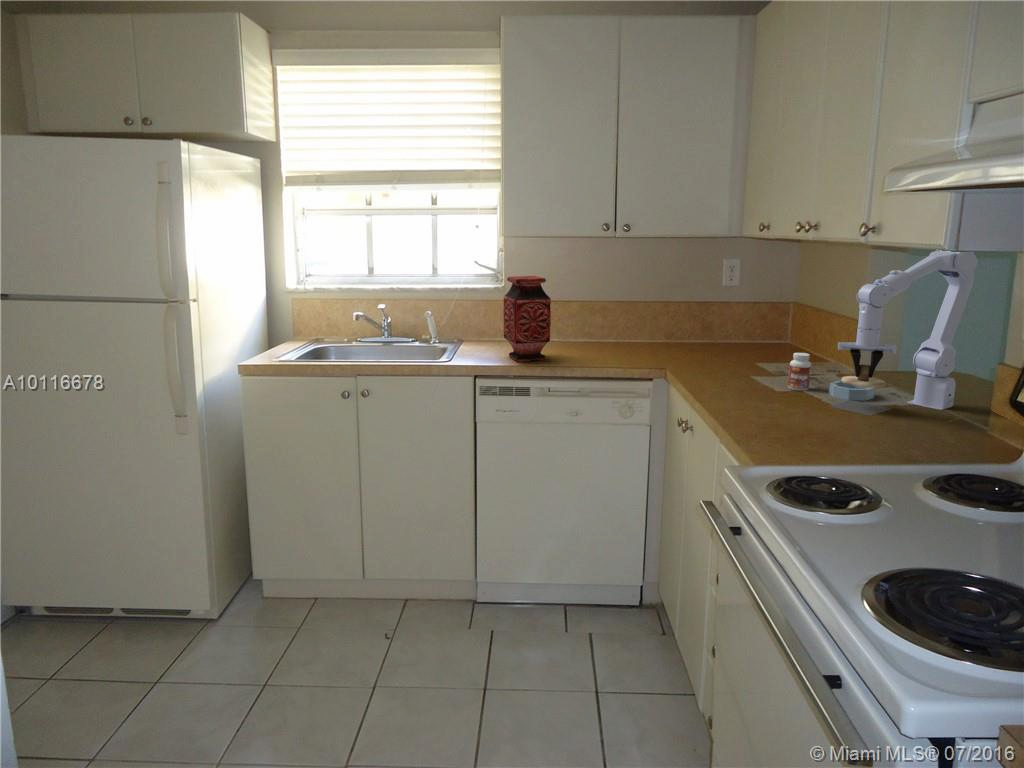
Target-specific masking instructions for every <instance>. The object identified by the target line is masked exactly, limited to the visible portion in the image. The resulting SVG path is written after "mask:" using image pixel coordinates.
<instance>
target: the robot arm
mask: <svg viewBox="0 0 1024 768" xmlns="http://www.w3.org/2000/svg"><path fill="white" fill-rule="evenodd" d="M978 263H979V260H978V258H977V256H976V254H975V253H974V252H973V251H972V252H951V251H942V250H938V249H936V250H935V251H932V252H930V253H929V255H928V256H926V257H925V258H923V259H921V260H920V261H918V262H916V263H915V264H914V265H912V266H910V267H908V268H906V269H905V270H904V271H902V270H899V269H898V270H897V269H896V270H891V271H889V274H887V275H886V276H884V277H882V278H877V279H875V280H874V282H873V283H865V284H864V285H862V286H861V287H860V289H859V290H858V293H856V295H855V297H856V301H857V302H858V309H859V311H858V312H859V313H858V323H857V330H856V332H857V333H856V340H855V342H851V341H849V342H848V341H847V342H845V341H843V342H842V341H838V344H837V350H838V351H849V352H850V353H849V354H850V355H851V359H852V362H853V365H854V376H856V377H859V365H861V363H860V362H861V357H862V356H861V355H862V354H861V353H862V352H871V353H870V354H871V355H870V366H871V367H870V374H869V378H873V375H874V372H876V371H875V370H876V368H877V366H878V364H879V363H880V361H881V360H882V358H883V356H884V353H891V354H897V349H898V347H897V345H895V344H885V343H880V337H881V330H882V329H881V328H882V322H883V321H882V320H883V311H884V306H886V305H888V303H889V301H890V299H892V298H893V297H896V296H897V295H898V294H900V293H902V292H904V291H906V290H908V289H909V287H910V286H911V282H914V281H916V280H918V279H920V278H922V277H925V276H927V275H929V274H931V273H933V272H935V271H937V273H939V274H940V275H941V276H942V277H943V278H944V279H945V280H946V282H947V284H948V288H947V290H946V292H945V296H944V298H943V300H942V304H941V307H940V310H939V312H938V315H937V317H936V319H935V323H934V326H933V328H932V331H931V334H930V335H929V336H930V337H929V338H928V339H926V340H925V341H923V342H922V343H921V344H920V346H919V348H918V350H917V351H916V352H915V353H914V355H913V358H912V364H913V367H914V368H915V369H916V370H915V372H916V373H917V375H916V382H915V388H914V389H915V390H914V395H913V399H912V400H909V401H907V403H906V404H910V405H915V406H920V407H925V408H930V409H934V410H935V409H936V410H939V411H940V410H941V411H942V410H945V409H949V408H953V407H954V406H953V405H954V399H955V392H956V387H957V386H956V380H955V378H953V377H949V375H950V374H952V372H953V371H954V369H955V365H956V359H955V358H956V356H957V350H956V349H955V347H954V346H953V345H952V342H953V340H954V337H955V334H956V332H957V329H958V326H959V324H960V321H961V318H962V316H963V313H964V309H965V307H966V306H967V305H966V304H967V302H968V299H969V296H970V294H971V291H972V289H973V285H974V282H975V271H976V268H977V267H978ZM952 406H953V407H952Z"/></svg>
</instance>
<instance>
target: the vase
mask: <svg viewBox="0 0 1024 768" xmlns="http://www.w3.org/2000/svg"><path fill="white" fill-rule="evenodd" d="M506 280H507V281H508V282H509V283H511V286H510V288H509V290H508V291H507V292H506V294H504V295H503V338H504V339H505V340H507V343H509V345H511V348H512V351H511V352H509V353H508V357H510V358H511V359H512V360H514V361H515V360H516V361H515V362H517V363H518V362H519V363H521V362H522V363H524V362H523V361H526V362H533V361H532V360H534V361H544V359H545V360H546V356H545V355H544V354H543V353H542V350H543V349H544V347H545V346H546V345H547V344H548V343H549V342H551V325H552V324H551V302H552V299H551V297H550V296H549V295H548V294H547V293H546V291H545V290H544V289H543V286H542V284H543V283H546V281H547V279H546V278H545V277H541V276H536V275H523V276H522V275H521V276H518V275H517V276H512V275H511V276H508V277H507V278H506Z"/></svg>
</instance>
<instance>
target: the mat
mask: <svg viewBox="0 0 1024 768" xmlns="http://www.w3.org/2000/svg"><path fill="white" fill-rule="evenodd" d="M828 407H829V408H835V409H838V410H842V411H847V412H852V413H855V414H862V415H863V416H864V415H865V416H868V417H869V416H873V415H877V414H881V413H884V412H887V411H891V410H893V408H890V407H886V406H881V405H877V404H873V403H868V402H863V401H860V400H845V401H843V402H839V403H835V404H831V405H828Z"/></svg>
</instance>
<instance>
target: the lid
mask: <svg viewBox="0 0 1024 768" xmlns="http://www.w3.org/2000/svg"><path fill="white" fill-rule="evenodd" d="M870 367H871V366H870V365H869V364H862V363H861V364H859V377H856V376H855V375H846V376H841V380H840V381H842V382H843V383H845V384H848V385H852V386H858V387H867V388H875V389H877V388H883V387H885V385H886V382H885V381H884V380H883V379H880V378H875V377H872V378H869V374H870Z"/></svg>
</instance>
